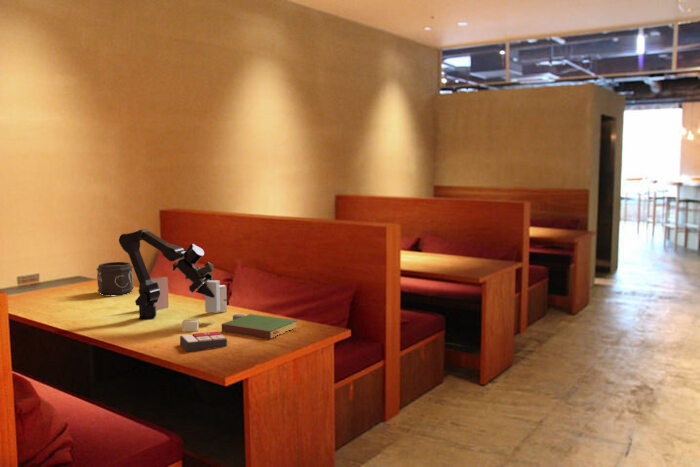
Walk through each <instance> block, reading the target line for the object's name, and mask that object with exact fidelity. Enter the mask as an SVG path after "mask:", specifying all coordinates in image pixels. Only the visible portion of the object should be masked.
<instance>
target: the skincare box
mask: <svg viewBox="0 0 700 467" xmlns="http://www.w3.org/2000/svg"><path fill="white" fill-rule="evenodd" d="M227 293H228V292H227V285H225V284H220V310H219V311H218V312H213V313H214V314H218V313H226V312H228V308H227V307H228V305H227V304H228V301H227V298H228V297H227V296H228V295H227Z"/></svg>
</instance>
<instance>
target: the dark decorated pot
mask: <svg viewBox="0 0 700 467" xmlns="http://www.w3.org/2000/svg"><path fill="white" fill-rule="evenodd" d="M133 269H134V268H133V265H132V264H131V263H130V262H128V261H127V262H125V261H114V262H113V261H112V262H110V261H109V262H105V263H101V264H99V265H98V267H97V268H96V271H97V274H96V275H97V276H96V277H97V278H96V280H97V288H98V289H97V292H98V293H99V294H100V293H101V294H103V295H121V296H124V295H123V294H126V295H128V294H127V293H129V294H131V293H132V292H133V290H134V287H135V286H133V285H134V277H133V276H134V275H133V274H134V273H133ZM130 292H131V293H130ZM103 295H102V296H103Z"/></svg>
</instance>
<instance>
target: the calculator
mask: <svg viewBox="0 0 700 467" xmlns="http://www.w3.org/2000/svg"><path fill="white" fill-rule="evenodd" d="M179 344H180V346H181V348H182V349H183V350H184V351H185V352H186V353H188V352H189V353H190V352H195V351H196V350H197V351H201V349H202V350H207V349H206V348H211V349H215V348H214V347H217V348H222V347H223V346H224V347H227V346H228V338H226V337H225V336H224V335H223V334H222V333H221V332H220V331H210V332H208V331H207V332H200V333H199V332H198V333H192V334H191V333H190V334H181V335H180V336H179ZM197 351H196V352H197Z"/></svg>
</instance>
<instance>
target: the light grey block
mask: <svg viewBox="0 0 700 467" xmlns="http://www.w3.org/2000/svg"><path fill="white" fill-rule="evenodd" d="M220 283H221V282H220V279H219V280H216V279H215V280H213V279H212V280H208V281H207V287H208V288H209V289H210V290H211V292H212V293H213V294H214V296H215V297H214V298H212V297H209V296H206V295H204V306H205V307H204V310H205V312H204V313H214V312H218V311H219V310H220V285H221V284H220Z"/></svg>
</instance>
